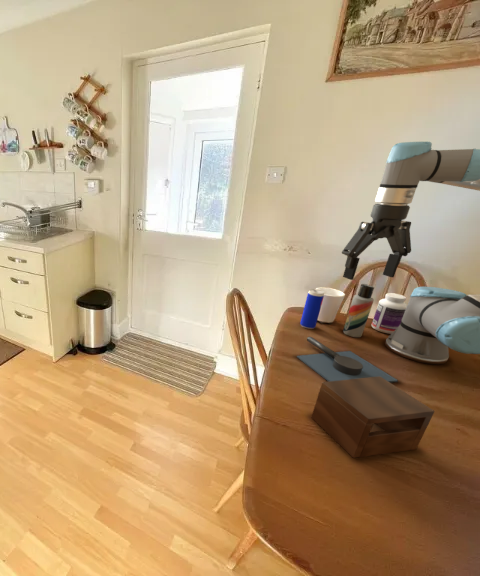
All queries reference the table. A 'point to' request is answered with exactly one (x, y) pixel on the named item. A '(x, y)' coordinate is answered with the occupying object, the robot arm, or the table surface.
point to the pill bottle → (389, 313)
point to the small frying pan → (339, 359)
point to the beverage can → (312, 308)
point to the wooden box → (370, 416)
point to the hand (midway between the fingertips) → (368, 277)
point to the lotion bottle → (359, 311)
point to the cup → (330, 304)
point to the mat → (328, 372)
